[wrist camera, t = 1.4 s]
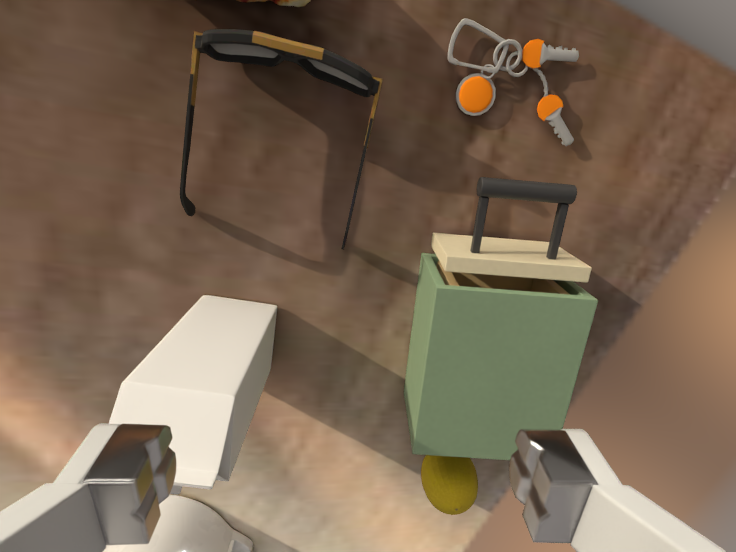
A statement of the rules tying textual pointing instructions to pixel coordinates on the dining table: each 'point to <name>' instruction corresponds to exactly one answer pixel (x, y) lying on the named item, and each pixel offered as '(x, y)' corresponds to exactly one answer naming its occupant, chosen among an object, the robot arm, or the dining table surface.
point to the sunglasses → (271, 53)
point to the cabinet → (490, 364)
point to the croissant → (283, 2)
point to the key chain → (480, 90)
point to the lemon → (449, 483)
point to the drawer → (511, 245)
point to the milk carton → (203, 385)
